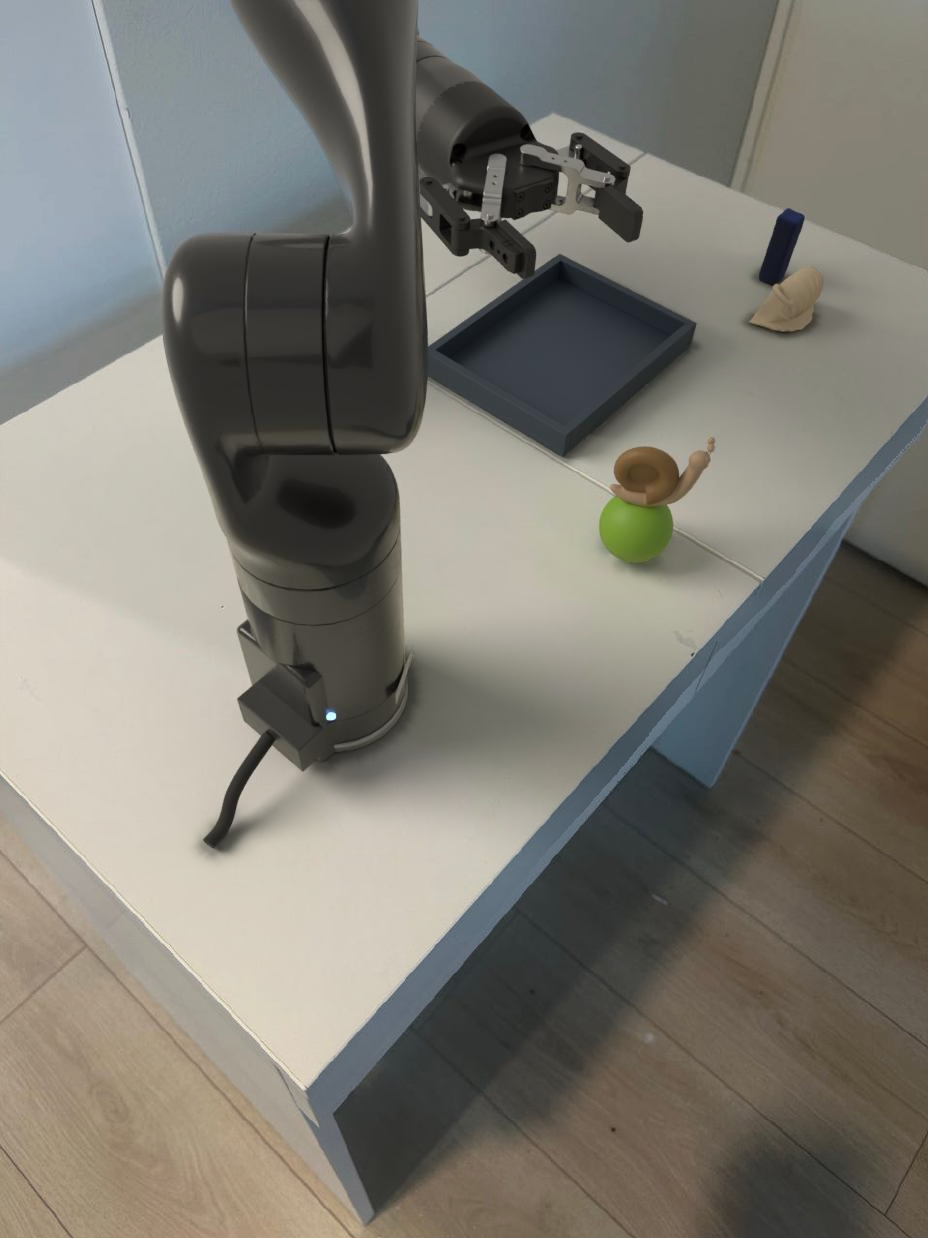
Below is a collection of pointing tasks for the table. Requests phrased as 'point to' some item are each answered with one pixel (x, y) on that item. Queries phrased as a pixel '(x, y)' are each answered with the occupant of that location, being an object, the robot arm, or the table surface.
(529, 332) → the tray
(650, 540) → the snail figurine
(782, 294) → the beige curved piece
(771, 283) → the eraser
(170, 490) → the table surface
